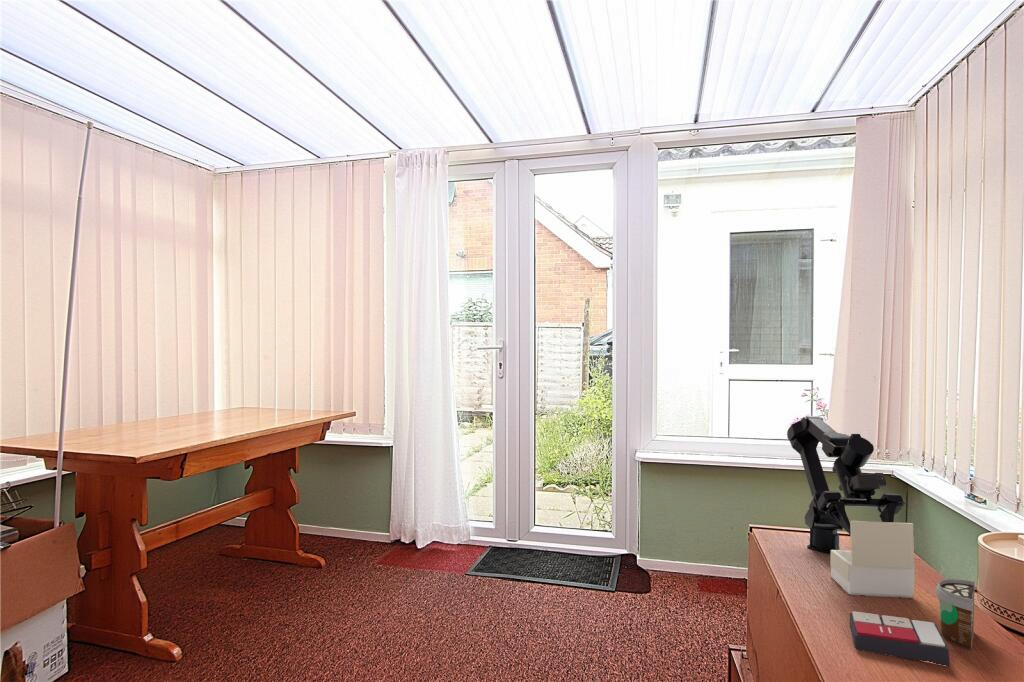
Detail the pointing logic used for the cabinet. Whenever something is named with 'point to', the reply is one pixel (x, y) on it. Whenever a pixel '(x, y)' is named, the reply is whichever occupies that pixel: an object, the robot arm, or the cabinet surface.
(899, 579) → the carton
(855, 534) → the carton flap
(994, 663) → the cabinet surface
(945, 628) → the food container
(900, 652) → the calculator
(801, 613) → the cabinet surface
